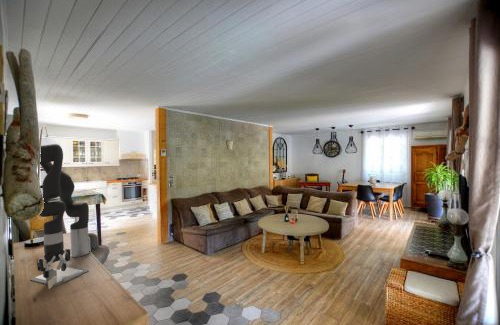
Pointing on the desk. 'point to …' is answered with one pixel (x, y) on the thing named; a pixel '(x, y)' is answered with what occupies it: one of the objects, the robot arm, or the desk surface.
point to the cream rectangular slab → (52, 282)
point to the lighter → (54, 271)
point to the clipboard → (62, 275)
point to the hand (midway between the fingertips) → (55, 274)
